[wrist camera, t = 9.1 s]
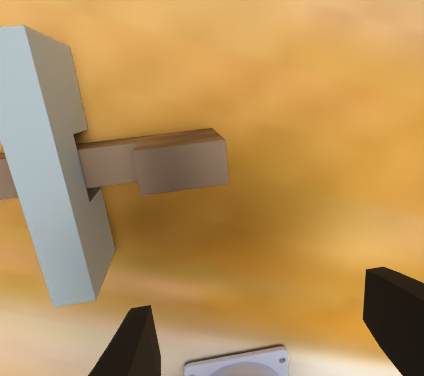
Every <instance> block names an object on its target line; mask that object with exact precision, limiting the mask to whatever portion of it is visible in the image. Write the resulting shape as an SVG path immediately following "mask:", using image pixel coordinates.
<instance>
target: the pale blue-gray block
mask: <svg viewBox="0 0 424 376" xmlns="http://www.w3.org/2000/svg"><path fill="white" fill-rule="evenodd" d="M87 129H88V126H87V122H86V117H85V113H84V108H83V104H82V99H81V95H80V90H79V86H78V81H77V77H76V72H75V68H74V64H73V59H72V55H71V50H70V47H69V46H66V45H64V44H62V43H60V42H58V41H56V40H54V39H52V38H50V37H48V36H45V35H43V34H41V33H39V32H37V31H35V30H33V29H31V28H29V27H27V26H24V25H21V26H9V27H0V140H1V143H2V146H3V150H4V153H5V156H6V159H7V162H8V165H9V169H10V172H11V175H12V178H13V181H14V184H15V188H16V191H17V194H18V197H19V200H20V203H21V207H22V210H23V213H24V216H25V219H26V222H27V226H28V229H29V232H30V235H31V238H32V241H33V245H34V248H35V251H36V254H37V257H38V260H39V264H40V267H41V270H42V273H43V276H44V279H45V282H46V286H47V289H48V292H49V295H50V298H51V301H52V305H53V307H58V306H64V305H71V304H77V303H83V302H89V301H96V299H97V296H98V294H99V291H100V288H101V286H102V283H103V281H104V278H105V276H106V273H107V270H108V268H109V265H110V263H111V260H112V257H113V255H114V252H115V247H114V242H113V238H112V233H111V229H110V224H109V220H108V215H107V211H106V206H105V202H104V197H103V193H102V189H101V188H95V189H86V185H85V181H84V177H83V173H82V168H81V164H80V160H79V156H78V152H77V148H76V143H75V139H74V135H73V134H76V133H79V132H81V131H84V130H87Z"/></svg>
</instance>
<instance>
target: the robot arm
mask: <svg viewBox="0 0 424 376" xmlns="http://www.w3.org/2000/svg"><path fill="white" fill-rule="evenodd" d="M363 320H364V322H365V324H366V325H367V327H368V329H369V330H370V332H371V334H372V335H373V337H374V338H375V340H376V341H377V343H378V344H379V346H380V347H381V349H382V350H383V351H384V353H385V354H386V355H387V357H388V358H389V359H390V360H391V362H392V363H393V364H394V365H395V367H396V368H397V369H398V370H399V372H400V373H401V374H402V375H403V376H424V283H422V282H420V281H417V280H415V279H413V278H410V277H408V276H406V275H403V274H401V273H398V272H396V271H393V270H391V269H388V268H385V267H379V268H372V269H366V277H365V294H364V310H363ZM280 358H281V359H280ZM88 376H161V355H160V350H159V345H158V340H157V335H156V330H155V325H154V320H153V315H152V310H151V305H149V306H143V307H137V308H131V309H130V311H129V312H128V313H127V315H126V317H125V319H124V320H123V322H122V324H121V325H120V327H119V329H118V330H117V332H116V334H115V335H114V337H113V339H112V340H111V342H110V343H109V345H108V347H107V348H106V350H105V351H104V353H103V354H102V356H101V357H100V359H99V360H98V362H97V363H96V365H95V367H94V368H93V369H92V371H91V372H90V374H89V375H88ZM184 376H289V363H288V351H287V349H286V348H285V347H283V346H282V347H275V348H269V349H264V350H258V351H253V352H248V353H242V354H237V355H231V356H226V357H220V358H215V359H209V360H204V361H198V362H193V363H189V364H187V365H185V367H184Z"/></svg>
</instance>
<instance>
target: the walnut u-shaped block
mask: <svg viewBox="0 0 424 376" xmlns="http://www.w3.org/2000/svg"><path fill="white" fill-rule="evenodd" d="M76 148H77V152H78V156H79V160H80V164H81V168H82V173H83V177H84V181H85V185H86V188H94V187H101V186H109V185H116V184H124V183H132V182H138V185H139V190H140V195H141V196H142V195H150V194H157V193H165V192H172V191H179V190H187V189H194V188H202V187H209V186H216V185H224V184H229V173H228V162H227V151H226V140H225V139H224V138H223V137H222V136H220V135H219V134H218V133H217V132H216V131H215V130H213V129H212V128H209V129H201V130H193V131H184V132H176V133H168V134H159V135H151V136H142V137H134V138H126V139H117V140H109V141H100V142H92V143H84V144H76ZM10 198H18V194H17V191H16V188H15V184H14V181H13V178H12V175H11V172H10V169H9V165H8V162H7V159H6V156H5V153H0V200H2V199H10Z"/></svg>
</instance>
